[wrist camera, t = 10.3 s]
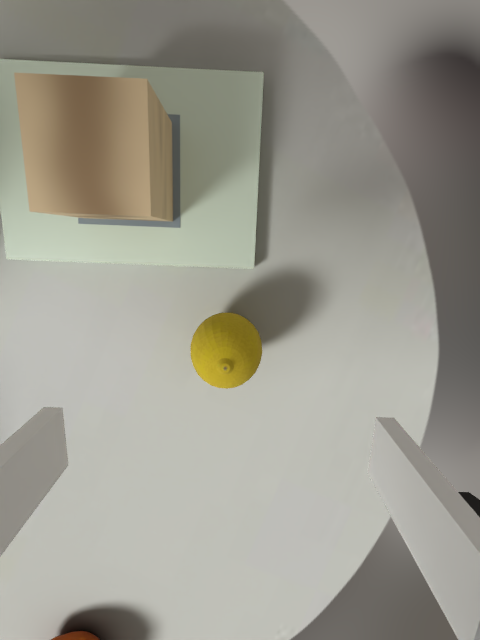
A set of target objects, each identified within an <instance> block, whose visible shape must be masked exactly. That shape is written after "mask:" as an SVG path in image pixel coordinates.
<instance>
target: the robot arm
mask: <svg viewBox="0 0 480 640" xmlns="http://www.w3.org/2000/svg"><path fill="white" fill-rule="evenodd" d="M67 466H68V457H67V447H66V438H65V428H64V418H63V409H62V408H53V407H44V408H42V409H41V410H40V411H39V412H38V413H37V414H36V415H34V416H33V417H32V418H31V419H30V420H29V421H28V422H26V423H25V424H24V425H23V426H22V427H21V428H20V429H19V430H17V431H16V432H15V433H14V434H13V435H12V436H11V437H9V438H8V439H7V440H6V441H5V442H4V443H3V444H1V445H0V556H1V555H2V554H3V552H4V551H5V550H6V548H7V547H8V546H9V544H10V543H11V541H12V540H13V539H14V537H15V536H16V535H17V533H18V532H19V531H20V529H21V528H22V527H23V525H24V524H25V523H26V521H27V520H28V519H29V517H30V516H31V515H32V513H33V512H34V511H35V509H36V508H37V506H38V505H39V504H40V502H41V501H42V500H43V498H44V497H45V496H46V494H47V493H48V492H49V490H50V489H51V488H52V486H53V485H54V484H55V482H56V481H57V480H58V478H59V477H60V476H61V474H62V473H63V471H64V470H65V469H66V467H67ZM368 475H369V477H370V479H371V481H372V483H373V484H374V486H375V488H376V490H377V492H378V494H379V495H380V497H381V499H382V501H383V503H384V505H385V506H386V508H387V510H388V512H389V514H390V516H391V517H392V519H393V521H394V523H395V524H396V526H397V528H398V530H399V532H400V534H401V535H402V537H403V539H404V541H405V543H406V545H407V546H408V548H409V550H410V552H411V554H412V556H413V558H414V559H415V561H416V563H417V565H418V567H419V569H420V570H421V572H422V574H423V576H424V578H425V579H426V581H427V583H428V585H429V587H430V589H431V590H432V592H433V594H434V596H435V598H436V600H437V601H438V603H439V605H440V607H441V609H442V611H443V612H444V614H445V616H446V618H447V620H448V622H449V623H450V625H451V627H452V629H453V631H454V632H455V634H456V636H457V638H458V640H480V500H479V499H478V498H476V497H475V496H473V495H472V494H471V493H469V492H457V490H456V489H455V488H454V487H453V486H452V485H451V484H450V482H449V481H448V480H447V479H446V478H445V477H444V475H443V474H442V473H441V472H440V471H439V470H438V468H437V467H436V466H435V465H434V464H433V463H432V462H431V460H430V459H429V458H428V457H427V456H426V455H425V453H424V452H423V451H422V450H421V449H420V447H419V446H418V445H417V444H416V443H415V442H414V441H413V439H412V438H411V437H410V436H409V435H408V434H407V432H406V431H405V430H404V429H403V428H402V427H401V425H400V424H399V423H398V422H397V421H396V420H395V418H383V417H376V420H375V427H374V434H373V440H372V447H371V453H370V460H369V466H368Z"/></svg>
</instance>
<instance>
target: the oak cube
mask: <svg viewBox="0 0 480 640" xmlns="http://www.w3.org/2000/svg"><path fill="white" fill-rule="evenodd" d="M14 77H15V86H16V95H17V104H18V113H19V122H20V131H21V140H22V148H23V157H24V166H25V175H26V184H27V193H28V202H29V211H30V212H37V213H46V214H54V215H62V216H70V217H78V218H93V219H119V220H145V221H171V222H173V169H172V122H171V120H170V118H169V117H168V115H167V113H166V111H165V109H164V108H163V106H162V104H161V102H160V101H159V99H158V97H157V95H156V94H155V92H154V90H153V88H152V86H151V85H150V83H149V81H148V79H142V78H121V77H99V76H78V75H56V74H34V73H14Z"/></svg>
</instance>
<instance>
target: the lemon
mask: <svg viewBox="0 0 480 640" xmlns="http://www.w3.org/2000/svg"><path fill="white" fill-rule="evenodd" d="M261 356H262V343H261V339H260V336H259V333H258V331H257V330H256V328H255V327H254V325H253V324H252V323H251V322H250V321H248V320H247V319H246V318H244V317H242V316H240V315H238V314H234V313H219V314H216V315H213V316H211V317H209V318H208V319H206V320H205V321H204V322H203V323H202V324H201V325H200V326H199V327H198V328H197V330H196V332H195V333H194V335H193V339H192V342H191V359H192V363H193V366H194V368H195V370H196V372H197V373H198V375H199V376H200V377H201V378H202V379H203V380H204V381H205V382H207V383H209V384H210V385H212V386H215V387H218V388H233V387H237V386H239V385H242V384H243V383H245V382H246V381H248V380H249V379H250V378H251V377H252V376H253V374H254V373H255V372H256V370H257V368H258V366H259V364H260V361H261Z"/></svg>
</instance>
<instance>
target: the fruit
mask: <svg viewBox="0 0 480 640" xmlns="http://www.w3.org/2000/svg"><path fill="white" fill-rule="evenodd" d="M51 640H100V639H99V638H98V637H97V636H95V635H93V634H92V633H89V632H86V631H76V632H70V633H67V634H64V635H60V636H57V637H55V638H53V639H51Z"/></svg>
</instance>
